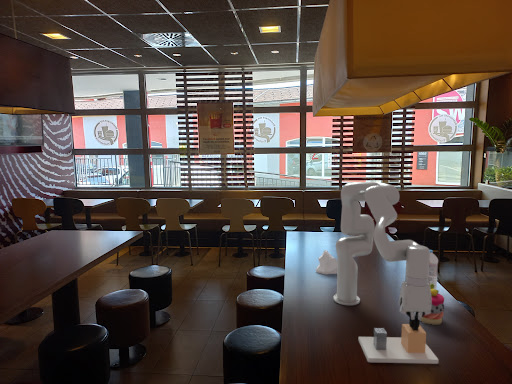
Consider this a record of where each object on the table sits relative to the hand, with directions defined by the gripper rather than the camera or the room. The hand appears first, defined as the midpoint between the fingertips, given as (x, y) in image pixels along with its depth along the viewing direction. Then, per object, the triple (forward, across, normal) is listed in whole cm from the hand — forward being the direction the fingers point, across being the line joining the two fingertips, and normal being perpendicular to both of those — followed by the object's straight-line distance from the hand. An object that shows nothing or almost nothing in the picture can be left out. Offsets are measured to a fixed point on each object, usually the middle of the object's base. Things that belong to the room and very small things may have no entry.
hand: (414, 328), depth 127 cm
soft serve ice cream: (+9, +18, -83) cm, 86 cm away
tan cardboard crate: (+8, 0, 0) cm, 8 cm away
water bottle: (+9, -25, -45) cm, 52 cm away
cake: (+9, -17, -25) cm, 32 cm away
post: (+9, +12, 0) cm, 15 cm away
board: (+9, +6, 0) cm, 11 cm away
